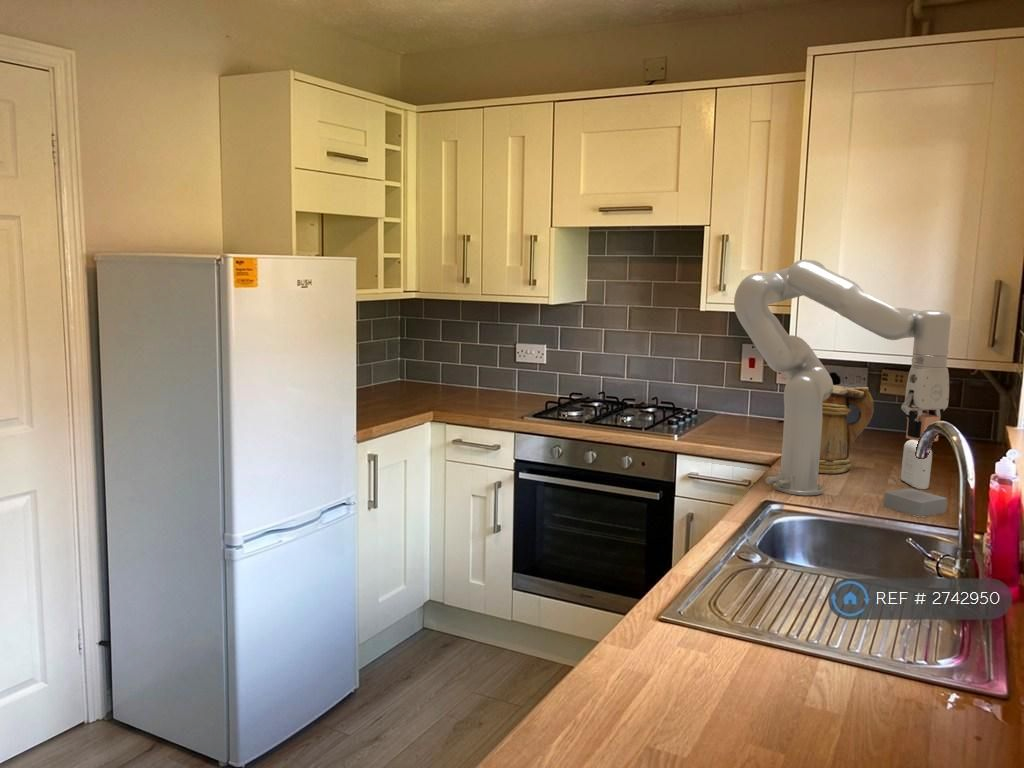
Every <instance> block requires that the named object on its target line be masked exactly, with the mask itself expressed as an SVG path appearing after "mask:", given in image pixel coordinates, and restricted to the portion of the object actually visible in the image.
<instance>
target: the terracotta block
mask: <svg viewBox="0 0 1024 768" xmlns="http://www.w3.org/2000/svg"><path fill="white" fill-rule="evenodd" d="M914 413H915V412H914ZM916 413H917V412H916ZM916 413H915V414H916ZM906 421H907V422H906V432H905V433H906V434H905V439H909V440H916V441H919V439H920V438H915V437H910V436H908V435H907V433H908V423H909V420H908V419H907V420H906ZM936 421H940V422H941V418H940V416H935V415H930V414H927V413H925V412H922V414H921V418H920V422H921V431H920V437H921V436H922V434H923V433H924V431H925V430H926V429H927V427H928V426H929V425H930V424H931V423H933V422H936ZM938 441H939V435H937V436H936V438H935V439H934V441H933V442H938Z"/></svg>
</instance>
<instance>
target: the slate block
mask: <svg viewBox="0 0 1024 768" xmlns="http://www.w3.org/2000/svg"><path fill="white" fill-rule="evenodd" d="M947 505H948V498H947V497H944V496H941V495H936V494H933V493H930V492H926V491H923V490H920V489H916V488H911V487H910V488H905V489H898V490H891V491H887V492H884V498H883V507H884V508H886V509H889V508H890V510H893V511H896V510H897V512H899V511H900V513H902V512H904V513H903V514H906V513H907V514H906V515H909V514H911V515H910V516H912V515H915V516H919V517H921V518H923V517H922V516H926V517H929V516H928V515H932V516H935V515H934V514H937V515H941V514H940V513H942V514H946V512H947ZM915 516H914V517H915ZM919 517H918V518H919Z"/></svg>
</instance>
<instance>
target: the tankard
mask: <svg viewBox="0 0 1024 768" xmlns="http://www.w3.org/2000/svg"><path fill="white" fill-rule="evenodd" d="M851 405H852V406H853V407H856V408H857V409H858V411H859V412H858V415H859V416H858V418H857V419H856V420H855V421H853V422H848V420H847V418H848V417H847V416H848V415H849V414H851V413H852V412H853V410H852V409H851V408H850V406H851ZM874 408H875V407H874V399H873V397H872V395H871V393H870V391H869V387H867V386H861V387H859V386H857V387H850V386H843V385H836V384H833V391H832V393H831V395H830V397H829V398H828V399H827V400H825V401H824V402H822V435H821V447H820V459H819V471H818V474H827V475H828V474H829V475H831V474H836V475H838V474H843V473H846V472H847V471H849V469H850V468H851V467H852V463H851V461H852V460H851V456H850V452H851V448H852V446H853V443H854V442H855V440H856V439H857V438H858V437H859V435H860V434H862V433H863V432H864V430H865V429H866V428H867V426H868V425H869V424H870V422H871V420H872V418H873V414H874V411H875V409H874Z"/></svg>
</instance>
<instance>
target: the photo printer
mask: <svg viewBox="0 0 1024 768" xmlns="http://www.w3.org/2000/svg"><path fill="white" fill-rule="evenodd" d="M917 444H918V441H916V440H912V439H909V440H907V441H906V442H905V443H904V445H903V452H902V462H901V471H900V480H902V481H903V482H904V483H906V484H908V485H910V486H911V487H914V489H916V490H926V489H929V486H930V480H931V479H930V477H931V470H932V462H933V451H932V449H931V450H930V453H929V455H928V457H927V458H925V459H918V458H916V456H915V452H916V447H917Z"/></svg>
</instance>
